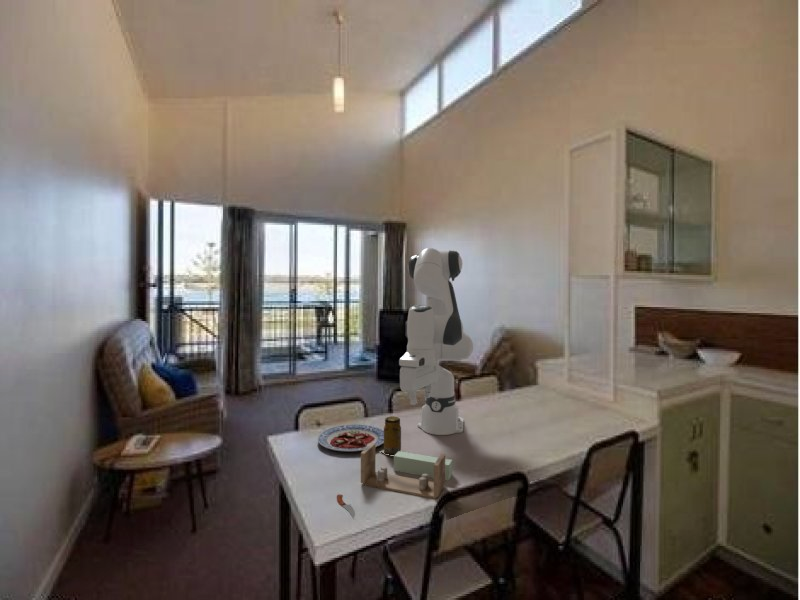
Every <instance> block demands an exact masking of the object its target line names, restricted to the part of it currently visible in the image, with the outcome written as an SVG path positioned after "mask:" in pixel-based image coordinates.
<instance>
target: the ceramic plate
mask: <svg viewBox="0 0 800 600" xmlns="http://www.w3.org/2000/svg"><path fill="white" fill-rule="evenodd" d="M317 442H318V443H319V444H320V446H322V447H324V448H325V449H329V450H333V451H338V452H360V451H361V452H362V451H364V450H365V449H366V448H367V447H368V446H369V445H370V444H371V443H374V444H375V448H377V447H379V446H381V445H384V429H381V428H380V427H377V426H374V425H373V426H372V425H368V424H345V425H338V426H334V427H332V428H331V427H330V428H328V429H326V430H324V431H322V432H320V434H319V435H318V437H317Z"/></svg>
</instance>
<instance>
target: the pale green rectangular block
mask: <svg viewBox="0 0 800 600" xmlns="http://www.w3.org/2000/svg"><path fill="white" fill-rule="evenodd" d="M407 452H408V451H407ZM407 452H401V451H398V452H397V453H396V454H395V455H394V458H393V471H394V470H395V471H394V472H399V471H400V472H401V473H406V474H411V475H417V476H421V477H422V474H428V475H429V478H432V479H434V464H435V462H436V461H437V459H438V458H439V457H438V456H437V457H436V456H429V455H425V454H417V453H412V452H410V453H407ZM452 476H453V459H449V458H445V481H449V480H450V479H451V478H452Z"/></svg>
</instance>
